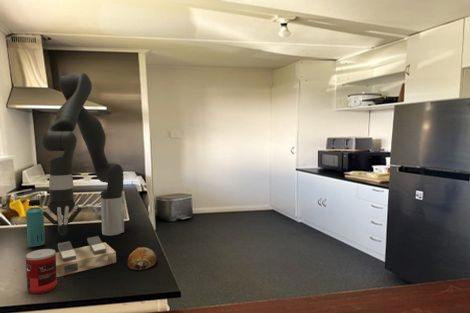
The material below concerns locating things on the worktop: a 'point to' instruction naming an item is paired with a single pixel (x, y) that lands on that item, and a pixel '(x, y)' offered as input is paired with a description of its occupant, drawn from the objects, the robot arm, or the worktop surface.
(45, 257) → the canned food
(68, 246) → the switch
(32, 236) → the beverage bottle
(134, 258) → the bread roll
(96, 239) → the switch
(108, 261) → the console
